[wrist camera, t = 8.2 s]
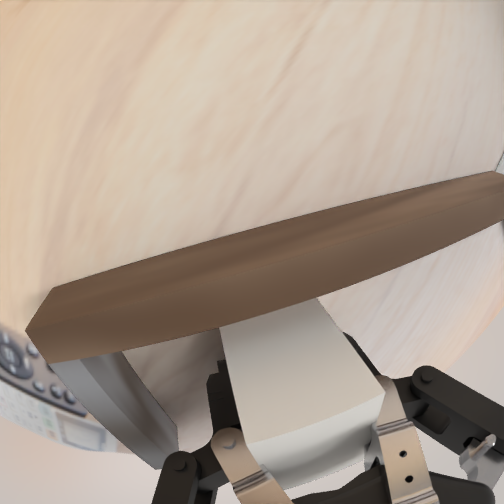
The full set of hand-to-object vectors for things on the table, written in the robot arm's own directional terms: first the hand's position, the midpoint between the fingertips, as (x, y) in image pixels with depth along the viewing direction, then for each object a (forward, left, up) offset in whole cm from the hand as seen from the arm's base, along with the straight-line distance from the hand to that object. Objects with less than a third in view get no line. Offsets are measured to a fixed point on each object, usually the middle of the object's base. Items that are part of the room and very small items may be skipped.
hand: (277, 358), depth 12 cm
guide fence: (-1, +4, -1) cm, 4 cm away
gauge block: (0, 0, -1) cm, 1 cm away
